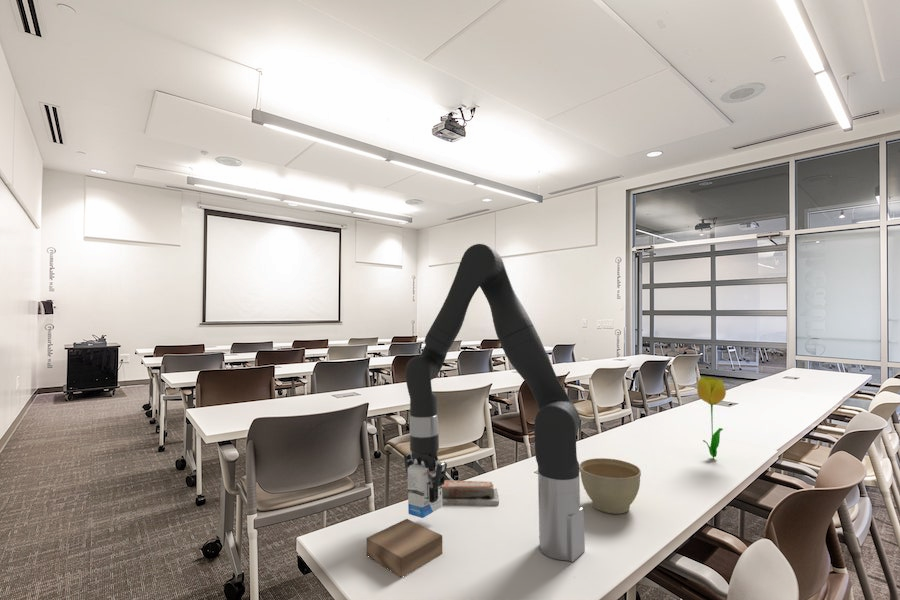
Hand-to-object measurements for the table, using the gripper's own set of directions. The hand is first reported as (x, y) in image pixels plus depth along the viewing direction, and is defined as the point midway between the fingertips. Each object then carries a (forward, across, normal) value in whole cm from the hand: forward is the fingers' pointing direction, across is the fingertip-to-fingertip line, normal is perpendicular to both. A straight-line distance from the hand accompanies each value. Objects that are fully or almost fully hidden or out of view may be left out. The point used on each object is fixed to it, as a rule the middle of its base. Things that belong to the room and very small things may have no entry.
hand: (425, 498), depth 109 cm
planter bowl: (+7, -32, -41) cm, 52 cm away
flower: (+8, -45, -105) cm, 114 cm away
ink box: (+3, 0, 0) cm, 3 cm away
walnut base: (+7, -6, +13) cm, 16 cm away
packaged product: (+7, +2, -19) cm, 21 cm away
